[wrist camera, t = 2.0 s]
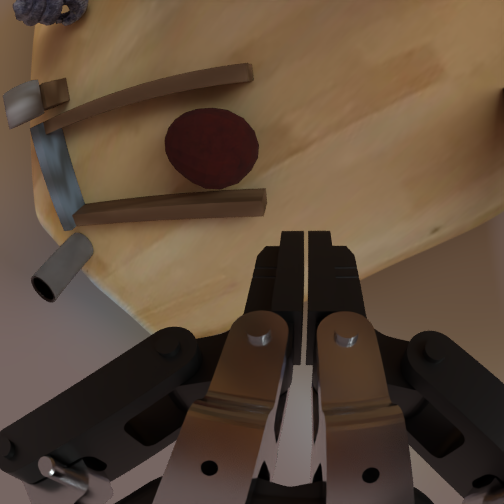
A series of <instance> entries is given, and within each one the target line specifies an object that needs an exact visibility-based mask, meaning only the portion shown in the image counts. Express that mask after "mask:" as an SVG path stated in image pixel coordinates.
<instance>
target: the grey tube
mask: <svg viewBox="0 0 504 504" xmlns="http://www.w3.org/2000/svg"><path fill="white" fill-rule="evenodd" d="M92 254H93V247H92V244H91V242H90V241H89V240H88V238H87V237H86V236H84V235H83V234H81V233H74V234H72V235H71V236H70V237H69V238H68V239H67V240H66V241H65V242H64V243H63V244H62V245H61V246H60V247H59V248H58V249H57V250H56V252H54V253H53V255H52V256H51V257H50V258H49V259H48V260H47V261H46V262H45V263H44V264H43V265H42V266H41V267H40V268H39V269H38V271H37V272H36V273H35V274H34V275H33V276H32V278H31V282H32V285H33V287H34V289H35V291H36V292H37V293H38V294H39V295H40V296H41V297H42V298H43V299H44V300H46V301H48V302H55V300H56V299H57V298H58V296H59V295H60V294H61V293H62V291H63V290H64V289H65V288H66V286H67V285H68V284H69V283H70V281H71V280H72V279H73V278H74V276H75V275H76V274H77V273H78V271H79V270H80V269H81V268H82V267H83V266H84V264H85V263H86V262H87V261H88V260H89V259H90V257H91V256H92Z"/></svg>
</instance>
